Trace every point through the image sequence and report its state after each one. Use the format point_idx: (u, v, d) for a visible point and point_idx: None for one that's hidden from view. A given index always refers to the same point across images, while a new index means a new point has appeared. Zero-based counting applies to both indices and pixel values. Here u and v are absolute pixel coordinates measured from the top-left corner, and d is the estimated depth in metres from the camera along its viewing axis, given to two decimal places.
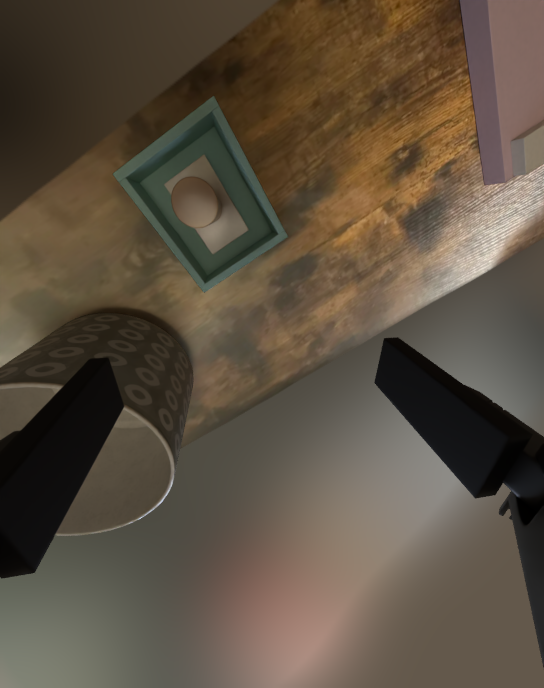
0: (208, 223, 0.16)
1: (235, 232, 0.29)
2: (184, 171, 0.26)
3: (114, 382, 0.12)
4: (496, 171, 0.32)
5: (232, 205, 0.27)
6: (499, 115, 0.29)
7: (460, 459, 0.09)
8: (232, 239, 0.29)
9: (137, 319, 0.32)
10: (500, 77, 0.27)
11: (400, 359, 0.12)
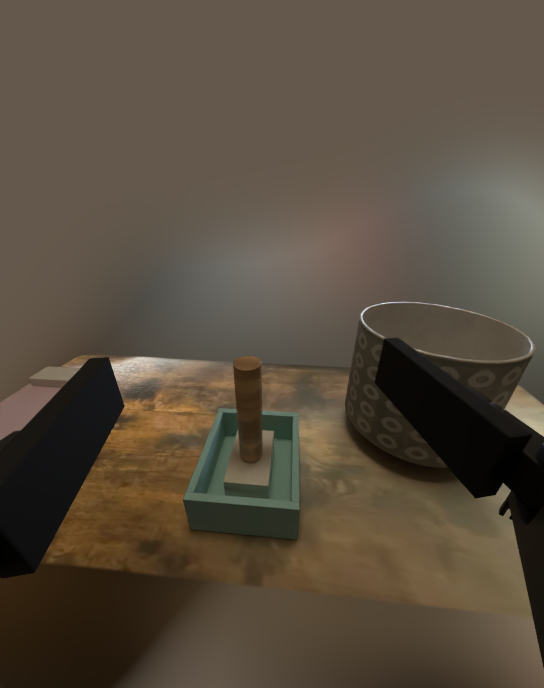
0: (249, 356, 0.27)
1: None
2: (246, 482, 0.28)
3: (114, 382, 0.12)
4: None
5: (234, 445, 0.33)
6: None
7: (460, 459, 0.09)
8: None
9: (364, 434, 0.36)
10: None
11: (400, 359, 0.12)
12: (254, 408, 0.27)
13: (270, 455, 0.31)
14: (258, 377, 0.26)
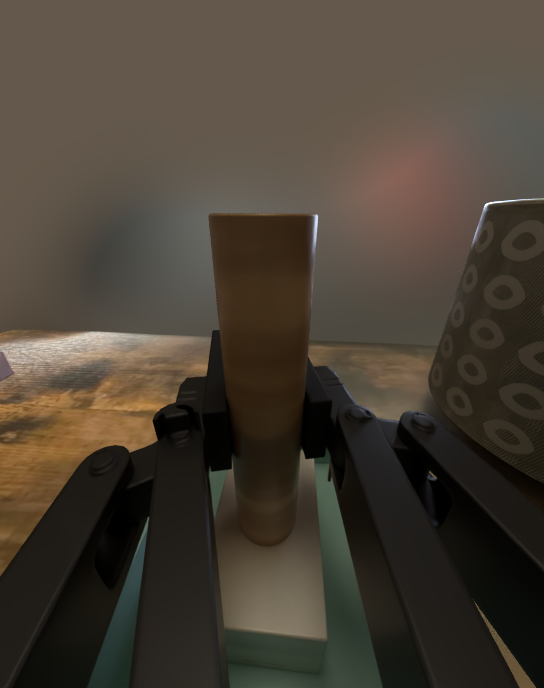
0: None
1: None
2: (257, 625, 0.09)
3: None
4: None
5: (225, 488, 0.14)
6: None
7: None
8: None
9: (508, 456, 0.16)
10: None
11: None
12: (286, 392, 0.08)
13: (316, 519, 0.12)
14: (308, 268, 0.07)
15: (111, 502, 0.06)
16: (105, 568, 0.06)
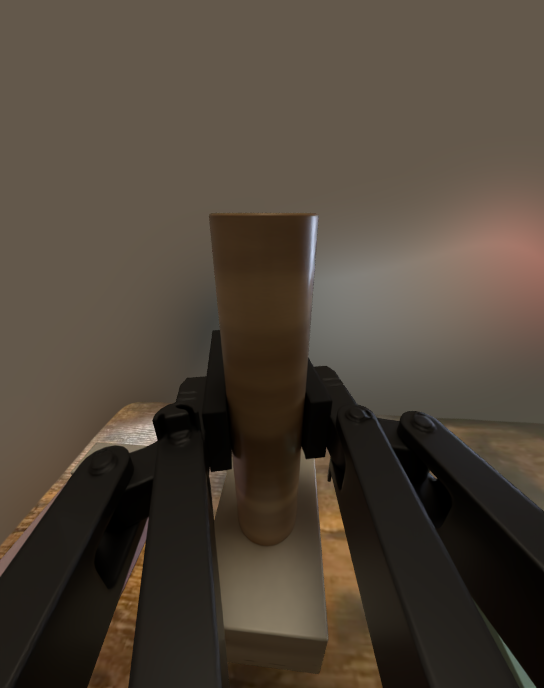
0: None
1: None
2: (257, 624, 0.09)
3: None
4: None
5: (226, 488, 0.14)
6: None
7: None
8: None
9: None
10: None
11: None
12: (287, 392, 0.08)
13: (316, 519, 0.12)
14: (308, 268, 0.07)
15: (111, 502, 0.06)
16: (105, 568, 0.06)
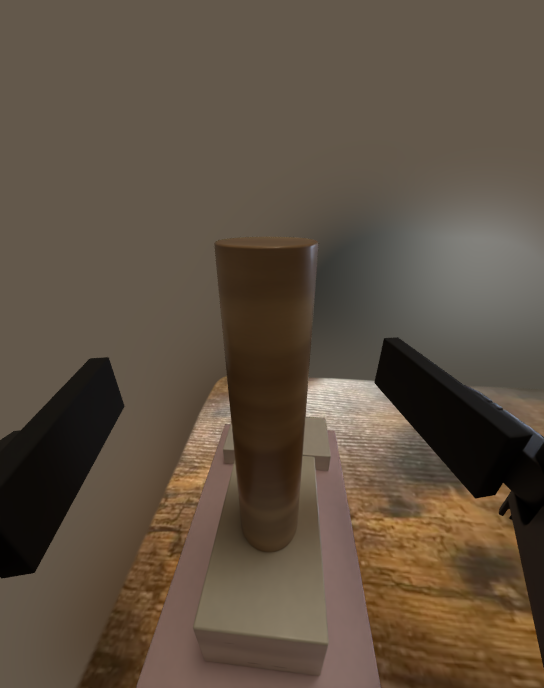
0: (270, 237, 0.08)
1: None
2: (261, 629, 0.09)
3: (114, 382, 0.12)
4: None
5: (229, 495, 0.14)
6: (349, 517, 0.16)
7: (460, 459, 0.09)
8: None
9: None
10: (352, 582, 0.13)
11: (400, 359, 0.12)
12: (288, 407, 0.08)
13: (317, 525, 0.13)
14: (309, 292, 0.07)
15: None
16: None
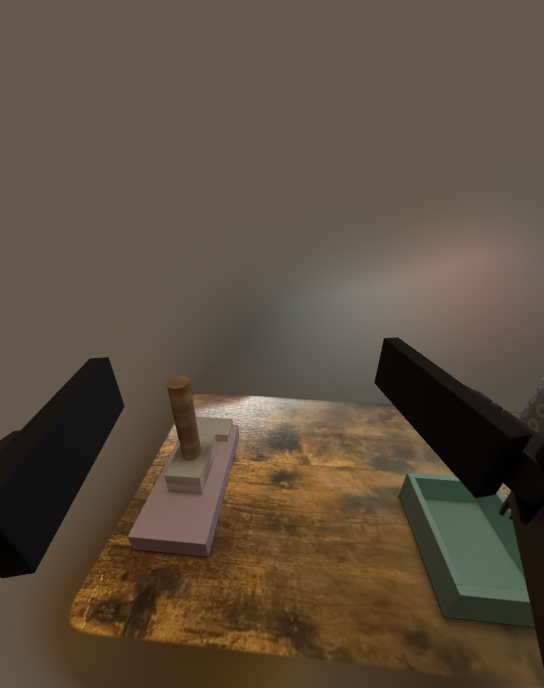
0: (182, 376, 0.34)
1: None
2: (182, 475, 0.36)
3: (114, 382, 0.12)
4: (237, 435, 0.48)
5: (180, 446, 0.40)
6: (229, 457, 0.42)
7: (460, 459, 0.09)
8: None
9: None
10: (221, 475, 0.40)
11: (400, 359, 0.12)
12: (185, 416, 0.34)
13: (207, 454, 0.39)
14: (186, 393, 0.33)
15: None
16: None
